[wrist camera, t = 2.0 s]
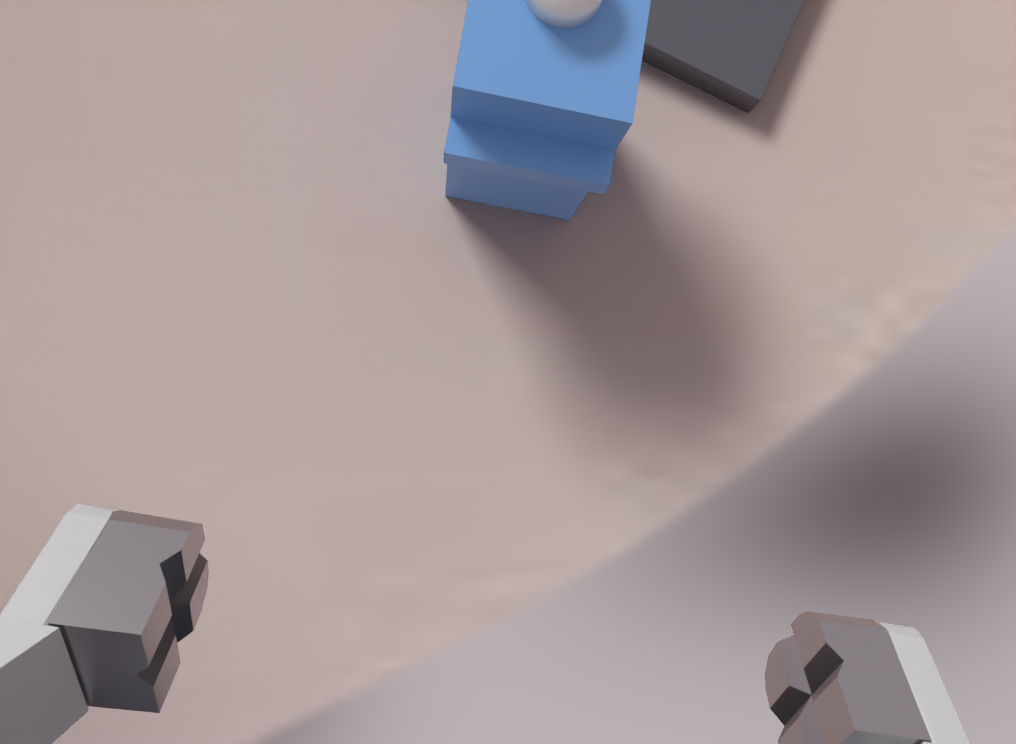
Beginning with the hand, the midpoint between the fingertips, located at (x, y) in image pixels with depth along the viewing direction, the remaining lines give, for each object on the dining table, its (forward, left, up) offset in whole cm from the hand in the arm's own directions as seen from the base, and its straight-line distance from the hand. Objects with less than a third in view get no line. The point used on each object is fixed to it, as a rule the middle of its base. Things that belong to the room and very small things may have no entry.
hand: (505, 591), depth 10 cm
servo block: (-3, +12, -15) cm, 19 cm away
